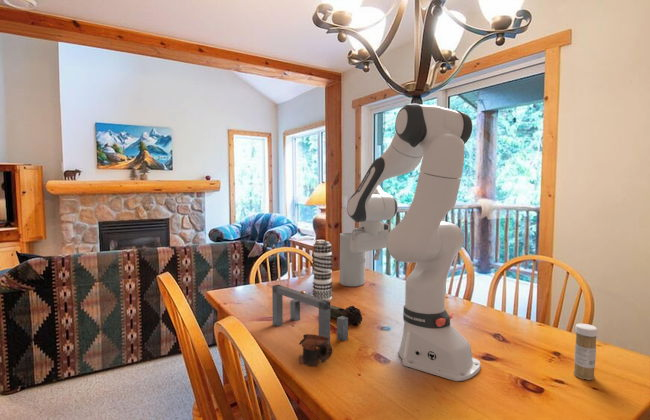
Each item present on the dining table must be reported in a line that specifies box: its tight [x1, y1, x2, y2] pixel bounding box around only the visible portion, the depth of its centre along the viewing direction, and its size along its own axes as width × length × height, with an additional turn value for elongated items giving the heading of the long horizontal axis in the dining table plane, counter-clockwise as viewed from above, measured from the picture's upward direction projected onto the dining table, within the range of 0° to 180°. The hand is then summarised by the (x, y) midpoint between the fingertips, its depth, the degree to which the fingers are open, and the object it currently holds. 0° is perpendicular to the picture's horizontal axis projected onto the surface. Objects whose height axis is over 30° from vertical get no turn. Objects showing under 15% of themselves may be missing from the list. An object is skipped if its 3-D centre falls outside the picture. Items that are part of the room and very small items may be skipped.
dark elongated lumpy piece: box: [330, 304, 363, 326], centre depth 136 cm, size 18×7×6 cm, turn 47°
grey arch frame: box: [271, 284, 331, 345], centre depth 122 cm, size 26×3×14 cm, turn 44°
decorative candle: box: [311, 240, 334, 301], centre depth 161 cm, size 9×9×25 cm
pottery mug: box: [298, 333, 333, 368], centre depth 104 cm, size 12×10×8 cm
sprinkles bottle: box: [573, 323, 598, 381], centre depth 96 cm, size 5×5×13 cm
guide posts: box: [289, 299, 349, 342], centre depth 127 cm, size 26×2×7 cm, turn 44°
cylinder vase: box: [339, 232, 366, 288], centre depth 185 cm, size 12×12×25 cm
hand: (369, 261), depth 145 cm, fingers open, 7 cm apart
